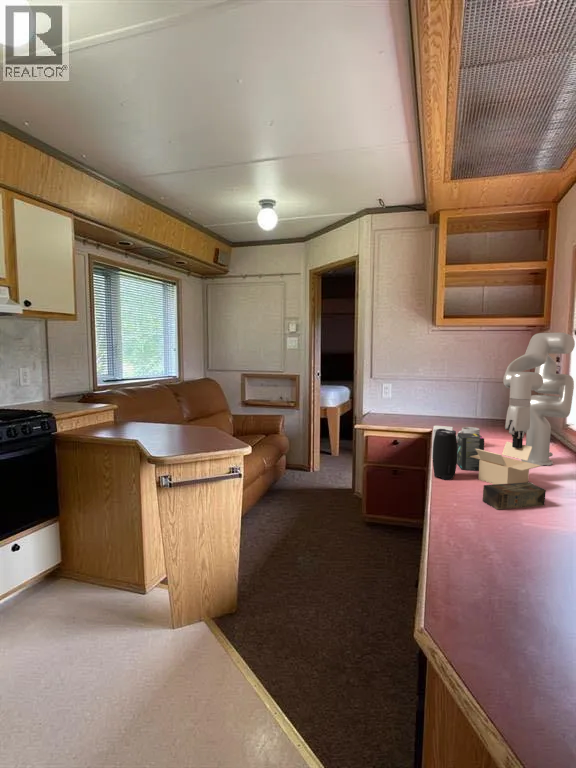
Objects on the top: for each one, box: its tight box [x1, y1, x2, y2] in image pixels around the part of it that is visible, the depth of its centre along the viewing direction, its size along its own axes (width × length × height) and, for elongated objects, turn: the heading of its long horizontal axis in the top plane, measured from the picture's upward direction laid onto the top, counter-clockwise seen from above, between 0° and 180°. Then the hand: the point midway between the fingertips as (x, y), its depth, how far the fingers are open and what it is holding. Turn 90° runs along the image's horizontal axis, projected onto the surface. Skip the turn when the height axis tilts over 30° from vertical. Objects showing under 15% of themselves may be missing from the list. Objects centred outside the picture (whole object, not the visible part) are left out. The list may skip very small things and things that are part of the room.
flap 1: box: [476, 449, 507, 466], centre depth 157 cm, size 6×11×1 cm
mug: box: [456, 426, 481, 438], centre depth 220 cm, size 11×10×10 cm
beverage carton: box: [482, 481, 547, 510], centre depth 139 cm, size 8×19×7 cm, turn 102°
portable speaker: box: [432, 429, 458, 481], centre depth 167 cm, size 9×9×20 cm
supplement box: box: [431, 425, 454, 460], centre depth 197 cm, size 9×9×15 cm
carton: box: [470, 455, 542, 485], centre depth 162 cm, size 14×22×8 cm, turn 30°
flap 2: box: [501, 441, 532, 461], centre depth 166 cm, size 6×11×1 cm
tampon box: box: [456, 432, 485, 472], centre depth 181 cm, size 11×9×15 cm
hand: (517, 447), depth 165 cm, fingers closed
